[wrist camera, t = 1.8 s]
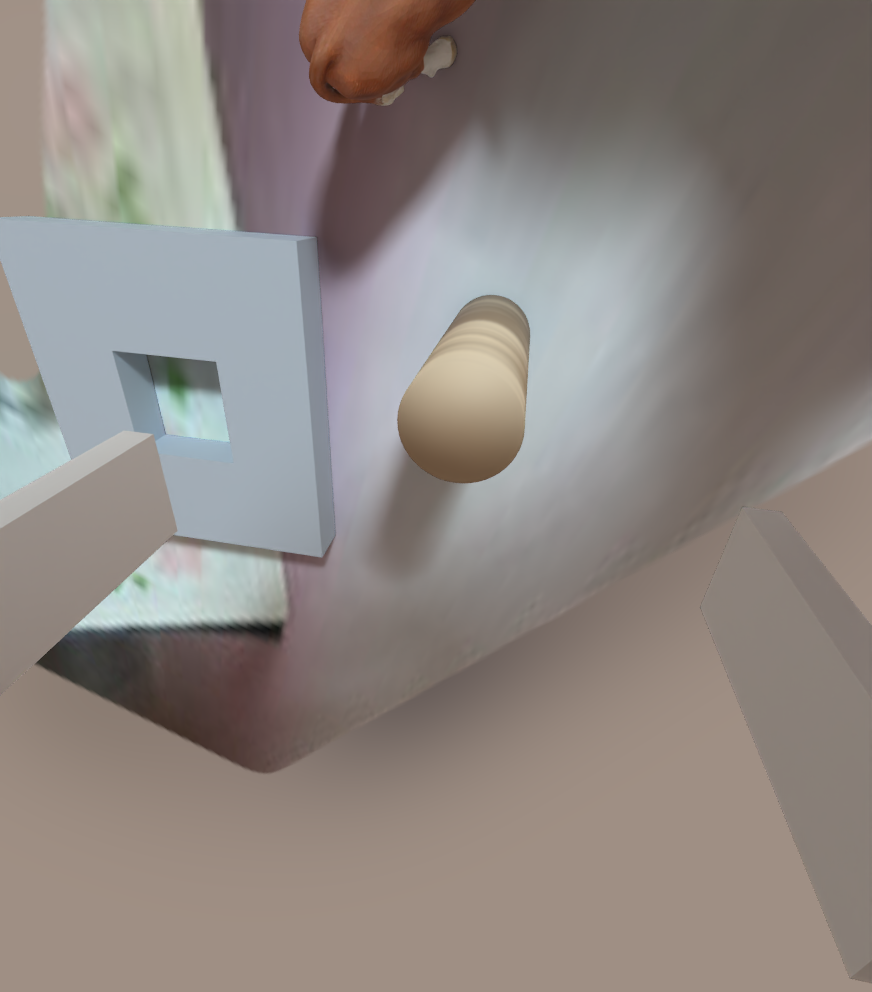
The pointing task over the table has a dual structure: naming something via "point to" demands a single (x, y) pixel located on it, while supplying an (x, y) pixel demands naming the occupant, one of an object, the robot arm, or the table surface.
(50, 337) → the socket board
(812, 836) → the robot arm
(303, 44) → the bull figurine
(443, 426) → the peg
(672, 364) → the table surface
